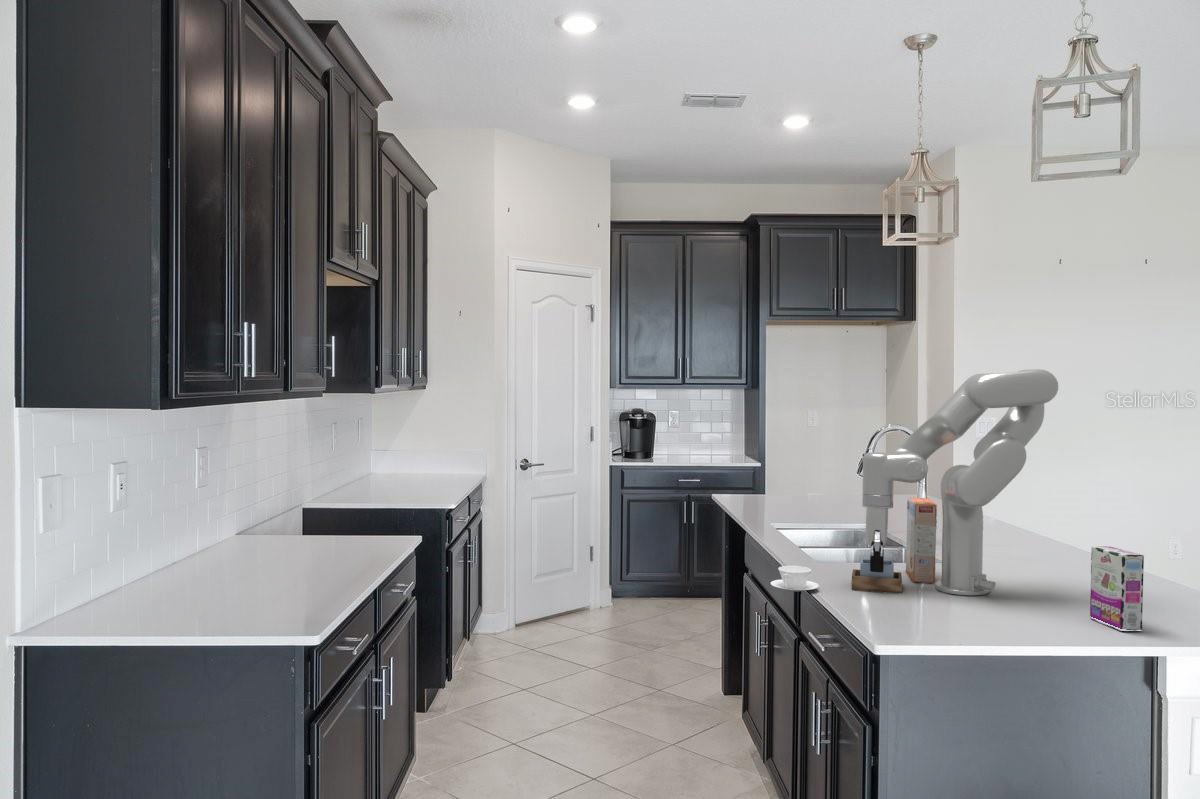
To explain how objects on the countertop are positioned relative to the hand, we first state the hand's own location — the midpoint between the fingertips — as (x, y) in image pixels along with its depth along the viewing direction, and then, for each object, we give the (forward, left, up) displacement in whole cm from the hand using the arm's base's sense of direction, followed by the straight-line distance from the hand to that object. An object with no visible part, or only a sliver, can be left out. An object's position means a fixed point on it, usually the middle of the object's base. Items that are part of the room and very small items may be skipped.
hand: (876, 568), depth 230 cm
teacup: (+10, +19, -5) cm, 22 cm away
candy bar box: (-52, -15, -5) cm, 54 cm away
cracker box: (+1, -20, -5) cm, 21 cm away
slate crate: (0, 0, -4) cm, 4 cm away
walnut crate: (0, 0, -5) cm, 5 cm away
